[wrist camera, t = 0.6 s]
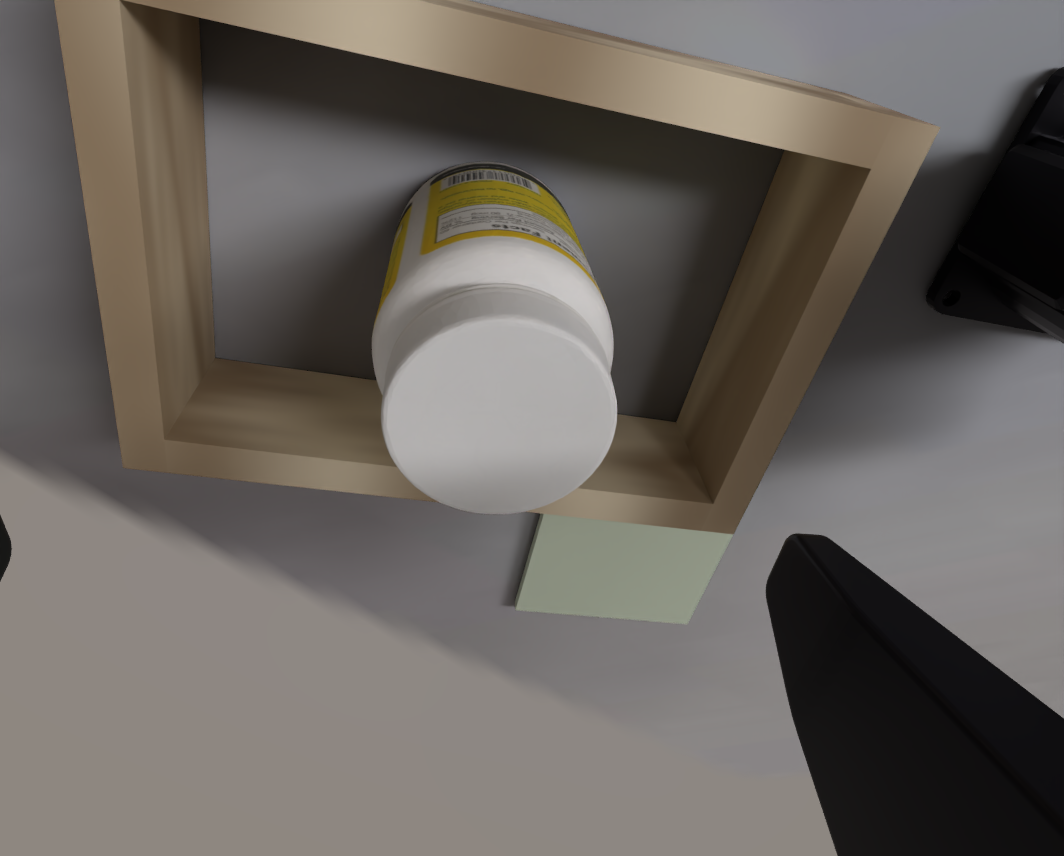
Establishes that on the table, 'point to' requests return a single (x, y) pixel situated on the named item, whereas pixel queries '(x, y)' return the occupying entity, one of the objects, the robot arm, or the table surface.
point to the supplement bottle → (492, 345)
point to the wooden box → (354, 403)
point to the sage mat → (618, 569)
